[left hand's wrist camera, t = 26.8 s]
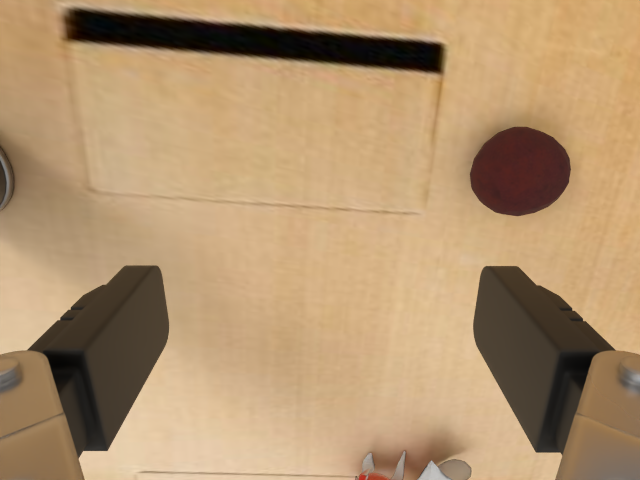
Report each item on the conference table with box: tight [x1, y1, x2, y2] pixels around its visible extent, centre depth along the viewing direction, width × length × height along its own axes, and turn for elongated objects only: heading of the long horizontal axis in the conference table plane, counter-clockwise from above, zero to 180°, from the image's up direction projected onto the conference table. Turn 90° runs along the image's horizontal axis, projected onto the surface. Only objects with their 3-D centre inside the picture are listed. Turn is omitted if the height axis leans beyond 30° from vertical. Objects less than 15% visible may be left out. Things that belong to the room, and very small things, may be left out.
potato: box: [470, 127, 571, 216], centre depth 38 cm, size 7×8×7 cm
